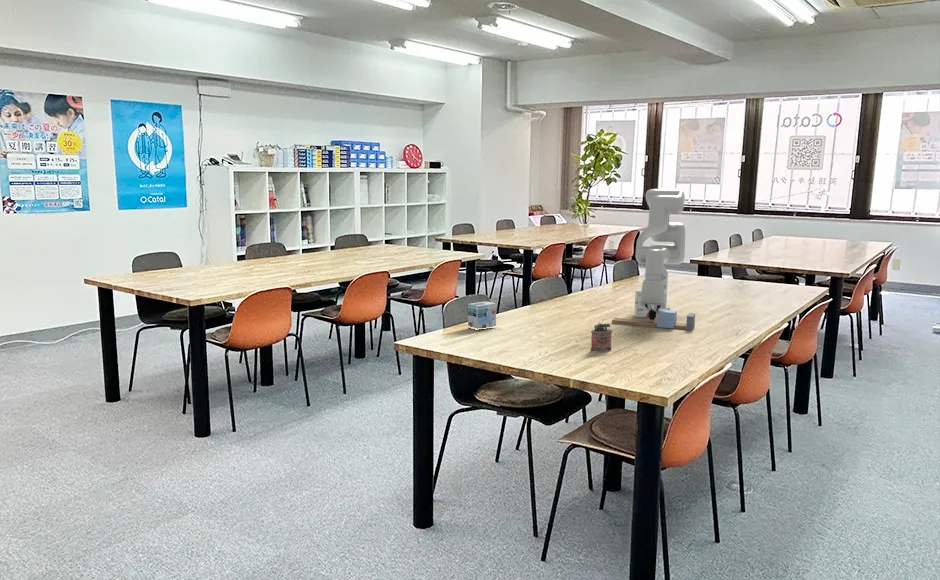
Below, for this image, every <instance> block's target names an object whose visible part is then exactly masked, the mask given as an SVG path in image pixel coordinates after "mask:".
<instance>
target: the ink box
mask: <svg viewBox="0 0 940 580" xmlns="http://www.w3.org/2000/svg"><path fill="white" fill-rule="evenodd" d="M641 291H642V290H638V289H636V290H635V291H634V292H635V294H634V316H635V317H636V318H649V311H648V309H647V308H646V307H645V306H642V305H640V303H641ZM651 305H652V310H653V309H654V305H655V304H651Z"/></svg>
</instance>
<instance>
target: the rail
mask: <svg viewBox="0 0 940 580" xmlns="http://www.w3.org/2000/svg"><path fill="white" fill-rule="evenodd" d="M695 322H696V313H695V312H689V313H688V314H687V315H686V322H685V323H684V322H676V323H675V324H674V328H671V329H675V330H685V331H691V332H692V331H693V330H694V329H695V325H696V324H695ZM611 324H617V325H627V326H636V327H637V326H638V327H649V328H650V327H651V328H658V327H657V320H650V319H648V320H646V319H636V318H621V317H614V318H613V319H612V320H611ZM659 328H662V329H664V328H663V327H659Z"/></svg>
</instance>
